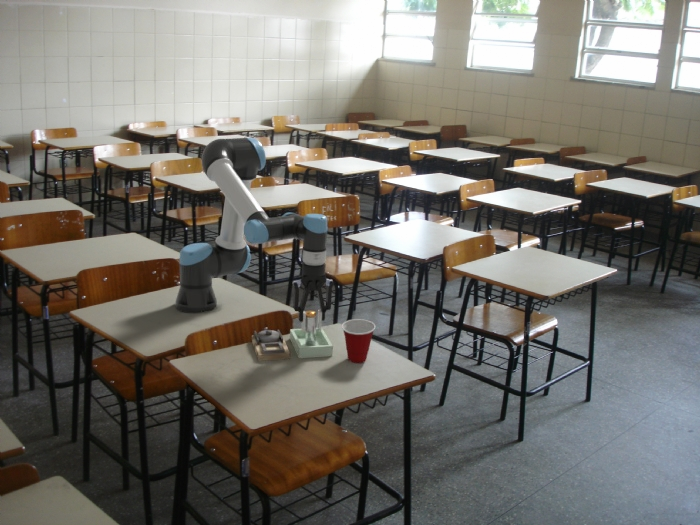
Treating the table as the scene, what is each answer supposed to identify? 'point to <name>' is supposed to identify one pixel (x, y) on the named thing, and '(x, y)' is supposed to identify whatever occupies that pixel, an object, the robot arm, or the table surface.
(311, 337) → the glass bottle
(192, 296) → the robot arm
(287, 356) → the pulley block
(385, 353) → the table surface
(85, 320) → the table surface
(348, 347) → the plastic cup
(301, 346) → the tray
